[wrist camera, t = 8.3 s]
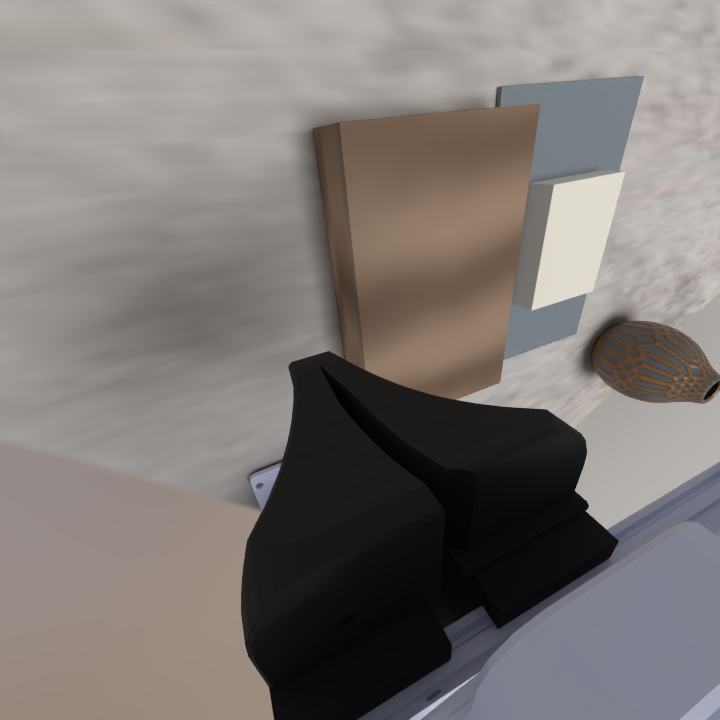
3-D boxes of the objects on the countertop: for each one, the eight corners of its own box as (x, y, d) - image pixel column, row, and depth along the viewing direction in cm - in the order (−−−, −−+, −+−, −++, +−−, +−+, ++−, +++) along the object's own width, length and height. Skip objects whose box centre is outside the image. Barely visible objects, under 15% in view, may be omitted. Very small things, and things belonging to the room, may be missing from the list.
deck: (468, 359, 27) (500, 382, 25) (350, 400, 25) (371, 431, 22) (488, 111, 19) (540, 103, 16) (312, 128, 16) (339, 122, 13)
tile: (531, 310, 25) (512, 302, 26) (592, 291, 26) (571, 284, 28) (553, 184, 20) (529, 183, 22) (625, 171, 22) (598, 170, 24)
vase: (618, 366, 37) (717, 413, 30) (571, 381, 35) (667, 437, 28) (642, 305, 34) (761, 343, 27) (593, 318, 32) (708, 363, 25)
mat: (573, 332, 31) (576, 333, 31) (472, 368, 28) (474, 370, 28) (638, 76, 22) (644, 75, 22) (497, 87, 19) (501, 86, 18)
